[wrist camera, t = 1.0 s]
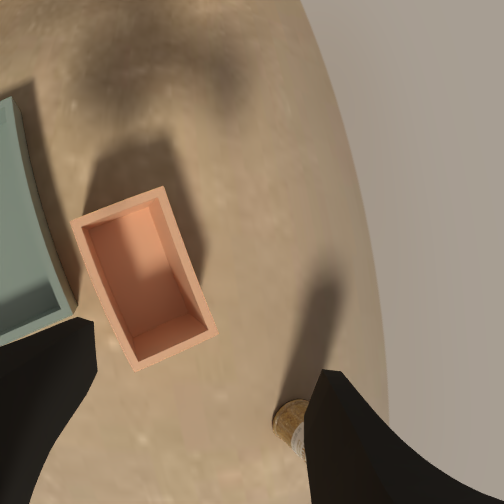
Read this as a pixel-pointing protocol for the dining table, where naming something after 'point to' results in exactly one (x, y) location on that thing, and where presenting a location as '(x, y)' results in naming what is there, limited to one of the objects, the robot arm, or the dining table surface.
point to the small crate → (144, 278)
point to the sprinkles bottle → (292, 425)
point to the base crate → (25, 242)
